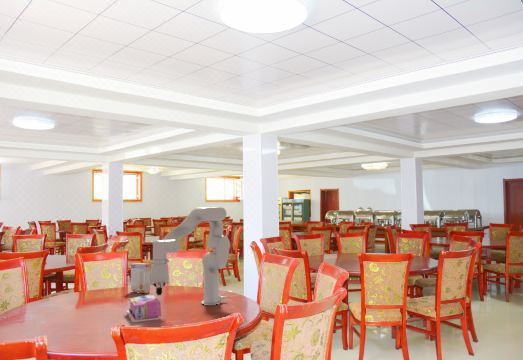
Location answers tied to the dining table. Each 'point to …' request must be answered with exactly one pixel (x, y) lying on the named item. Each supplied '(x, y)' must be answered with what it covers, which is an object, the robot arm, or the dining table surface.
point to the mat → (141, 319)
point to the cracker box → (140, 277)
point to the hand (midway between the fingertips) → (159, 294)
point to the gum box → (145, 307)
